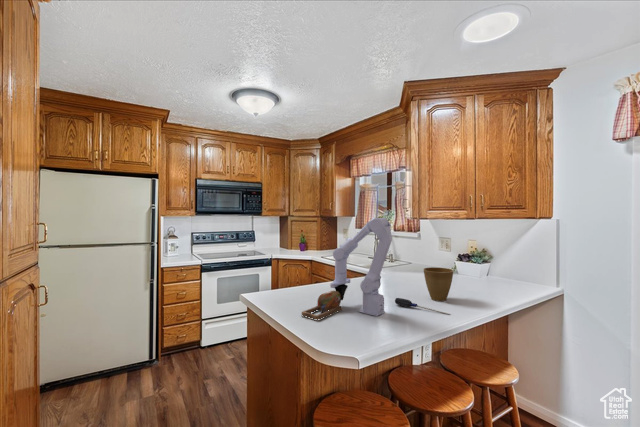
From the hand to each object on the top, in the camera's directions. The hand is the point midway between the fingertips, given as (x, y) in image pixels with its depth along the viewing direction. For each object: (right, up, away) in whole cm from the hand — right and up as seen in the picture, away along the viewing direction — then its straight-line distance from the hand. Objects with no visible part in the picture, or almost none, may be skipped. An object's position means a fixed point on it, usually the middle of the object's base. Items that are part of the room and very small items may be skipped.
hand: (340, 299), depth 148 cm
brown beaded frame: (-9, -3, -11) cm, 15 cm away
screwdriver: (+38, -4, -6) cm, 39 cm away
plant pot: (+53, -3, +12) cm, 54 cm away
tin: (-6, -3, -6) cm, 9 cm away
